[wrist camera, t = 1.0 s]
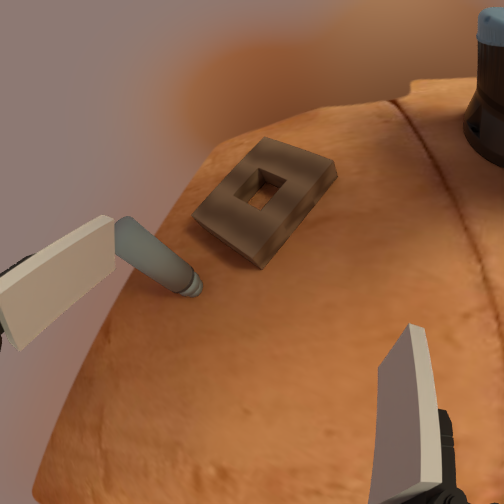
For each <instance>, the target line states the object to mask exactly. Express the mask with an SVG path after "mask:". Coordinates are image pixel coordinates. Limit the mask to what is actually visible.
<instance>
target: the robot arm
mask: <svg viewBox="0 0 504 504" xmlns="http://www.w3.org/2000/svg"><path fill="white" fill-rule="evenodd" d="M476 36H477V39H478V71H477V89H476V91H475V93H474V95H473V97H472V99H471V101H470V103H469V105H468V107H467V109H466V111H465V115H464V123H463V129H464V133H465V136H466V138H467V140H468V141H469V143H470V144H471V146H472V147H473V148H474V149H475V150H476V151H477V152H478V153H479V154H480V155H482V156H483V157H484V158H486V159H487V160H489V161H490V162H492V163H494V164H496V165H498V166H501V167H503V168H504V8H502V7H493V8H492V7H491V8H487V9H484V10H482V11H481V12H480V14H479V16H478V33H477V35H476ZM115 269H116V266H115V236H114V219H113V218H110V217H108V216H105V215H100V216H99V217H97V218H95V219H93V220H91V221H90V222H88V223H86V224H84V225H83V226H81V227H79V228H78V229H76V230H74V231H72V232H71V233H69V234H67V235H66V236H64V237H62V238H60V239H59V240H57V241H55V242H54V243H52V244H51V245H49V246H47V247H46V248H44V249H43V250H41V251H39V252H38V253H35V254H33V255H29V256H26V257H25V258H23V259H22V260H20V261H18V262H17V264H14V265H13V266H11V267H10V268H9V269H7V270H5V271H4V272H2V273H1V274H0V350H1V345H2V337H1V334H2V333H3V332H5V334H6V336H7V339H8V341H9V343H10V344H12V345H13V346H14V347H15V348H16V349H17V350H18V351H19V352H20V351H21V350H22V349H23V348H25V347H26V346H27V345H28V344H29V343H30V342H31V341H32V340H33V339H34V338H35V337H36V336H38V334H40V333H41V332H42V331H43V330H44V329H45V328H46V327H48V326H49V325H50V324H51V323H52V322H53V321H54V320H55V319H56V318H58V317H59V316H60V315H61V314H62V313H63V312H65V311H66V310H67V309H68V308H69V307H70V306H71V305H73V304H74V303H75V302H76V301H77V300H79V299H80V298H81V297H82V296H83V295H85V294H86V293H87V292H88V291H89V290H90V289H92V288H93V287H94V286H95V285H97V284H98V283H99V282H100V281H102V280H103V279H104V278H105V277H107V276H108V275H109V274H110V273H111V272H113V271H114V270H115ZM452 436H453V430H452V422H451V420H450V418H449V416H448V414H447V411H446V410H441V409H438V407H437V399H436V391H435V384H434V378H433V371H432V366H431V360H430V354H429V349H428V344H427V339H426V334H425V330H424V328H422V327H419V326H416V325H413V324H410V323H409V324H408V325H407V327H406V328H405V330H404V331H403V333H402V334H401V336H400V337H399V339H398V340H397V342H396V343H395V345H394V346H393V348H392V349H391V350H390V352H389V353H388V355H387V356H386V357H385V359H384V360H383V362H382V363H381V364H380V366H379V367H378V399H377V422H376V438H375V450H374V461H373V470H372V479H371V487H370V494H369V500H368V504H470V503H468V502H467V498H466V495H465V494H464V492H463V491H462V490H460V489H459V488H457V486H456V468H455V452H454V448H453V446H454V440H453V438H452ZM491 504H499V503H491Z"/></svg>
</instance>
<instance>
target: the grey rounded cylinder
mask: <svg viewBox="0 0 504 504" xmlns="http://www.w3.org/2000/svg"><path fill="white" fill-rule="evenodd" d="M114 236H115V254H116V255H117V256H119V257H120V258H122V259H123V260H125V261H126V262H128V263H129V264H131V265H132V266H133V267H135V268H136V269H138V270H140V271H141V272H143V273H144V274H146V275H147V276H149V277H150V278H152V279H153V280H155V281H156V282H158V283H159V284H161V285H163V286H164V287H166V288H167V289H169V290H171V291H172V292H174V293H179V294H181V295H182V296H189V297H196V296H198V295H199V294H200V293H201V292H202V289H203V282H202V281H201V280H200V277H199V275H198V274H197V273H196V272H194V270H193V268H192V267H191V266H190V265H189V264H188V263H186V262H185V261H184V260H183V259H181V258H180V257H179V256H178V255H176V254H175V253H174V252H173V251H172V250H170V249H169V248H168V247H167V246H165V245H164V244H163V243H162V242H161V241H159V240H158V239H157V238H156V237H155V236H153V235H152V234H151V233H150V232H149V231H147V230H146V229H145V228H144V227H143V226H141V225H140V224H139V223H138V222H137V221H135V220H134V219H133V218H132V217H130V216H126V217H123V218H121V219H120V220H118V221H117V222H116V223H115V224H114Z"/></svg>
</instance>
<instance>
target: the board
mask: <svg viewBox="0 0 504 504" xmlns="http://www.w3.org/2000/svg"><path fill="white" fill-rule="evenodd" d="M337 177H338V176H337V172H336V168H335V164H334V161H333V160H330V159H328V158H325V157H322V156H320V155H317V154H314V153H312V152H309V151H306V150H303V149H300V148H297V147H295V146H292V145H289V144H286V143H283V142H280V141H277V140H273V139H270V138H267V137H264V138H263V139H262V140H261V141H260V142H259V143H258V144H257V145H256V146H255V147H254V148H253V149H252V150H251V151H250V152H249V153H248V154H247V155H246V156H245V157H244V158H243V159H242V160H241V161H240V162H239V163H238V164H237V165H236V166H235V168H234V169H233V170H232V171H231V172H230V173H229V174H228V175H227V176H226V177H225V178H224V179H223V180H222V181H221V183H220V184H219V185H218V186H217V187H216V188H215V189H214V190H213V191H212V192H211V194H210V195H209V196H208V197H207V198H206V199H205V200H204V201H203V202H202V203H201V205H200V206H199V207H198V208H197V209H196V210H195V211H194V213H193V214H192V215H191V216H192V217H193V218H194V219H195V220H196V221H197V222H198V223H199V224H200V225H201V226H202V227H203V228H205V229H206V230H207V231H209V232H210V233H212V234H213V235H214V236H216V237H217V238H218V239H220V240H221V241H223V242H224V243H225V244H227V245H228V246H230V247H231V248H232V249H234V250H235V251H236V252H238V253H239V254H241V255H242V256H243V257H245V258H246V259H248V260H249V261H250V262H252V263H253V264H255V265H256V266H257V267H259V268H260V269H263V268H264V267H265V266H266V265H267V263H268V262H269V261H270V260H271V259H272V257H273V256H274V255H275V254H276V252H277V251H278V250H279V249H280V248H281V246H282V245H283V244H284V243H285V241H286V240H287V239H288V238H289V237H290V235H291V234H292V233H293V232H294V230H295V229H296V228H297V227H298V225H299V224H300V223H301V222H302V221H303V219H304V218H305V217H306V216H307V214H308V213H309V212H310V211H311V209H312V208H313V207H314V206H315V204H316V203H317V202H318V201H319V199H320V198H321V197H322V196H323V194H324V193H325V192H326V191H327V189H328V188H329V187H330V186H331V184H332V183H333V182H334V181H335V179H336V178H337ZM265 182H268V183H270V184H272V185H275V186H277V187H279V188H280V189H279V190H278V191H277V192H276V193H275V195H274V196H273V197H272V198H271V199H270V200H269V202H268V203H267V204H266V205H265V206H264V207H263V208H262V210H261V211H260V210H258V209H257V208H255V207H253V206H251V205H249V204H247V203H248V201H249V200H250V199H251V198H252V197H253V196H254V195H255V193H256V192H257V191H258V190H259V189H260V188H261V187H262V186H263V184H264V183H265Z"/></svg>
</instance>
